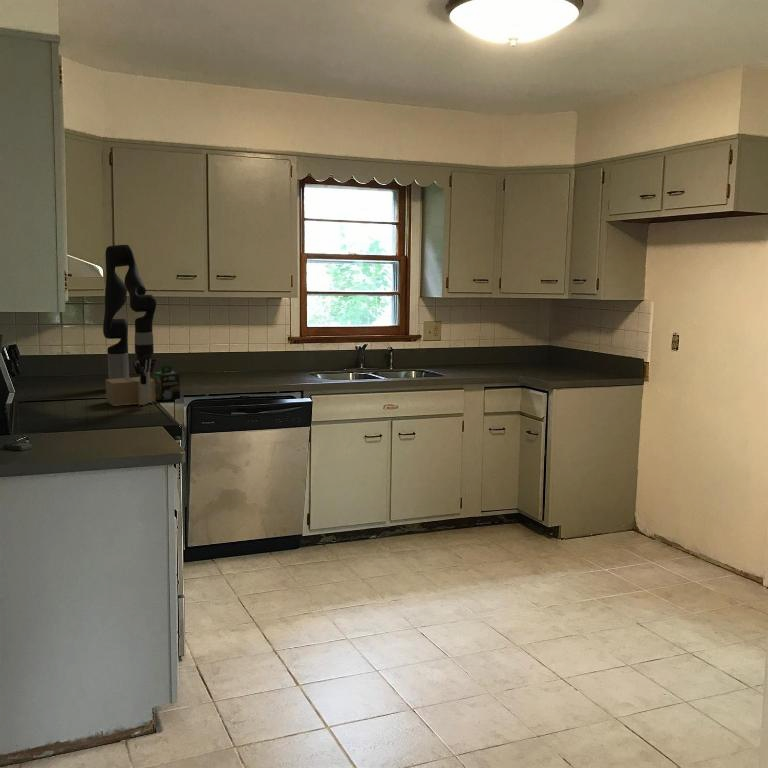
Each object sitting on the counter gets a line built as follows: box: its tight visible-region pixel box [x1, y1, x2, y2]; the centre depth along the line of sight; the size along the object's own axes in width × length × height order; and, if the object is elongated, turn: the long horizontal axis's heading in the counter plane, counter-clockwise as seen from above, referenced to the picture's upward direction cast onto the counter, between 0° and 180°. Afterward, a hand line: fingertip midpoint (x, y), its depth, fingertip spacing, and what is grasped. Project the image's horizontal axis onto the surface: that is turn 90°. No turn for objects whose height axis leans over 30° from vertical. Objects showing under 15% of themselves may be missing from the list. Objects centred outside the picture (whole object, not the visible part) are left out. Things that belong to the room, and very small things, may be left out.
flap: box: [138, 372, 153, 404], centre depth 351 cm, size 5×8×15 cm, turn 155°
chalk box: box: [152, 364, 181, 401], centre depth 370 cm, size 9×9×15 cm
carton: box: [105, 376, 157, 404], centre depth 358 cm, size 12×18×10 cm
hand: (144, 383), depth 347 cm, fingers closed
